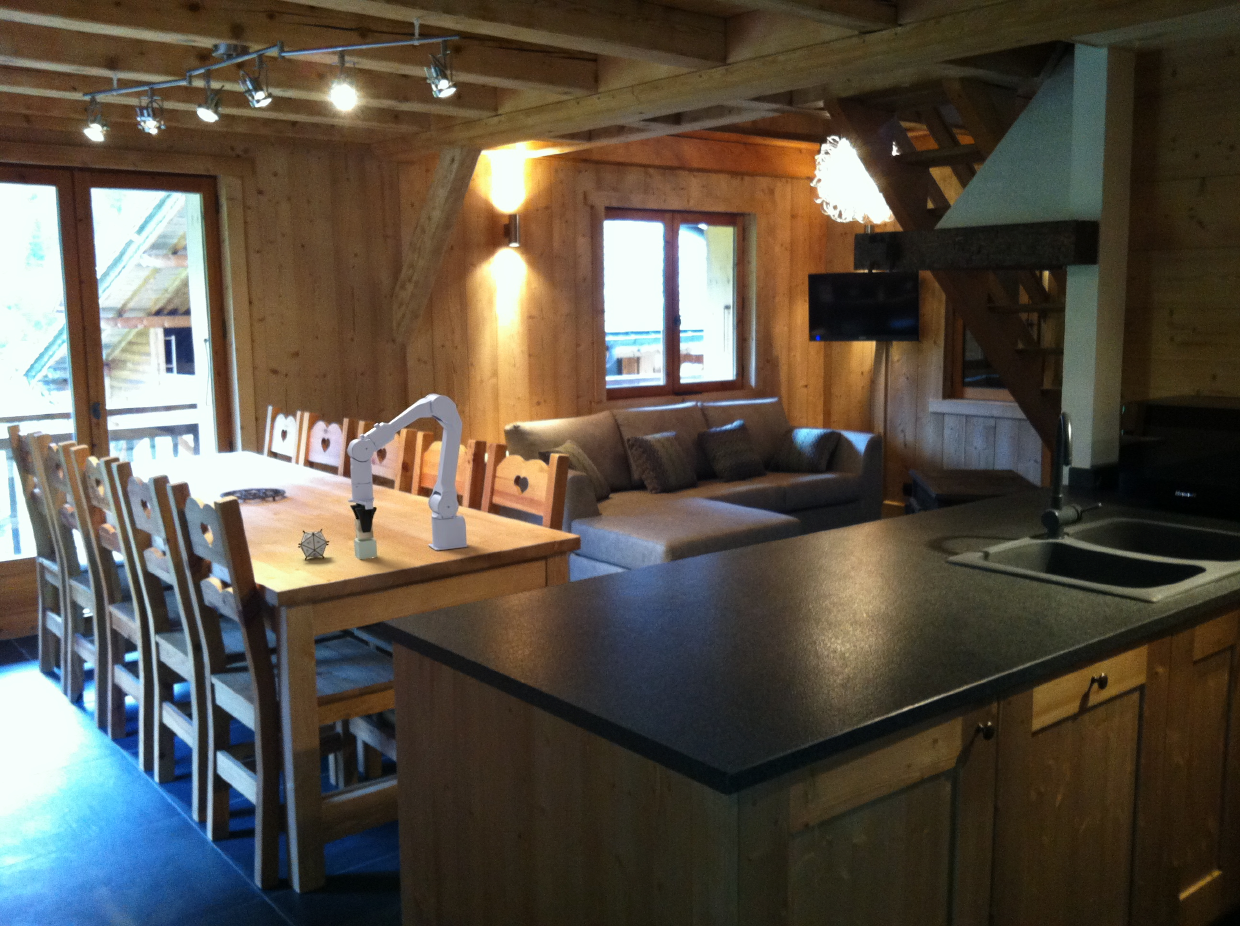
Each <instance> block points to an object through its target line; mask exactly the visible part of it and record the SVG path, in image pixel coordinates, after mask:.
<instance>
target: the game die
mask: <svg viewBox="0 0 1240 926" xmlns="http://www.w3.org/2000/svg"><path fill="white" fill-rule="evenodd" d="M322 532H323V528H321V529H320V531H319V530H317V531H316V530H315V531H305V530H304V529H303V530H302V533H303V536H302V538H301V542H299V543H298V544H297V545H298V546H297V548H298V549H301V551H302V552H303V554H304V556H305V557H304V561H306V560H307V559H308V558H309V559H310V558H317V557H319V558H320V557H322V559H324V558H325V555H324V554H325V551H326V548H327V546H329V543H330V540H327V539H326V538H325V536H324V534H323V533H322Z"/></svg>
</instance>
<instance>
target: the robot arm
mask: <svg viewBox="0 0 1240 926" xmlns="http://www.w3.org/2000/svg"><path fill="white" fill-rule="evenodd" d="M420 418H433V419H435V420H436V421H437V422H438V423H439V425H440V426H441V427H442V428H443V430H442V439H441V445H440V446H441V447H440V453H439V454H440V455H439V463H438V470H437V477H436V478H437V479H436V483H435V484H434V486H433V489H432V493H431V495H430V496H429V497H428V498H429V499H428V507H429V509H430V510H431V511H432V513H431V515H430V517H431V535H432V536H431V537H432V543H428V547H430V548H432V549H433V550H434V551H445V550H451V549H458V548H467V547H468V542H467V540H468V539H467V523H466V519H465V517H464V515H461V514H457V513H458V512H459V511H458V510H459V508H460V507H459V506H460V505H459V502H458V497H457V496H458V491H457V490H458V489H457V488H456V477H457V472H458V470H457V469H458V464H459V455H460V448H461V442H462V441H461V440H462V439H461V438H462V433H463V431H462V430H463V420H462V419H461V417H460V413H459V411H458V409H457V404H456V403H455V402H454V401H453V400H452V399H451V398H450V397H448V396H447V395H440V394H438V393H429V394H428V395H426V396H425V397H424V398H420V399H418V400H417V401H416V402H414V404H412V405H411V406H409V407H408V408H407V409H405V410H404V411H403V412H401V413H400V414H399V415H398V416H395V418H393V419H392V420H391V421H390V422H388V423H387V422H380V423H378V422H377V423H375V424H373V428H372V429H370V430H369V431H367V432H366V433H361V434H359V438H356V439H353V440H351V441H350V442H349V445H348V446H347V448H346V453H347V455H348V456H349V457H350V458H349V459H350V460H349V461H350V481H351V498H348V499H347V502H348V503H352V504H350V505H349V506H350V508H351V510H352V512H353V515H354V517H355V519H360V523H361V528H362V531H363V533H366V532H371V528H372V521H373V520H374V516H375V514H376V512H377V509H378V508H377V507H376V506H374V502H375V497H374V485H373V484H374V483H373V466H372V460H371V459H372V458H373V456H374V453H376V452H378V451H379V450H381V449H382V448H383V447H385V446H386V445H387V444H389V443H391V442H392V441H393V440H394V439H395V438H396V433H397V432H399V431H400V430H402V429H404V428H405V427H407V426H408V425H410V424H412V423H413V422H415V421H416V420H418V419H420ZM353 503H354V504H353ZM373 522H374V521H373Z"/></svg>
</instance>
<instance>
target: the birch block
mask: <svg viewBox="0 0 1240 926" xmlns="http://www.w3.org/2000/svg"><path fill="white" fill-rule="evenodd" d="M373 522H374V521H372V528H371V532H366V533H363V531H362V528H361V523H360V519H356V518H355V519H354V528H355V529H354V530H355V539H359V540H361V539H368V538H374V524H373ZM374 539H375V538H374Z"/></svg>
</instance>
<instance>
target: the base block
mask: <svg viewBox="0 0 1240 926" xmlns="http://www.w3.org/2000/svg"><path fill="white" fill-rule="evenodd" d="M353 544H354V545H353V546H354V557H355V556H356V557H355V558H357V559H358V560H359V559H362V560H367V559H366V558H370V559H373V558H372V557H377V558H378V550H377V549H378V546H377V539H375V538H368V539H361V540H359V539H358V538H353Z"/></svg>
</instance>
